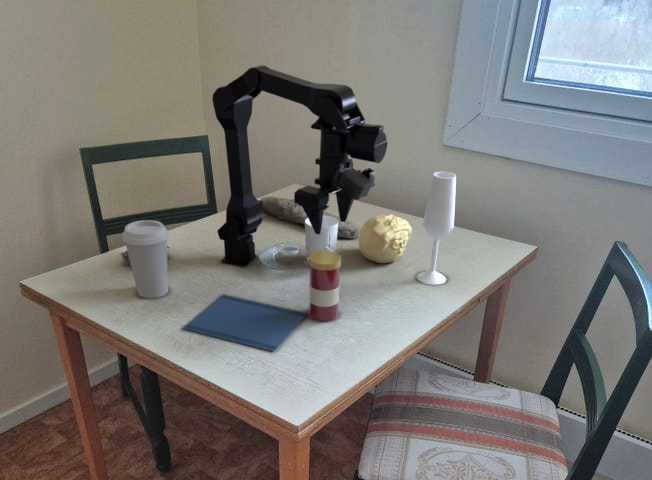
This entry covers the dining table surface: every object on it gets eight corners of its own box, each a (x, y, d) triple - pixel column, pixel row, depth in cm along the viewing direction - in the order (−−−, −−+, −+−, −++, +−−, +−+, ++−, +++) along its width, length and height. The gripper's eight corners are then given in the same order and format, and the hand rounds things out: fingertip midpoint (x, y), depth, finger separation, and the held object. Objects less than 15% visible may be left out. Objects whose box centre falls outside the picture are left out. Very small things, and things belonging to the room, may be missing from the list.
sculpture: (383, 272, 151) (387, 228, 145) (348, 256, 158) (350, 214, 152) (415, 259, 157) (420, 217, 151) (379, 244, 165) (383, 203, 159)
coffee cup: (182, 286, 144) (176, 222, 136) (161, 304, 136) (152, 238, 128) (145, 279, 146) (136, 216, 138) (122, 297, 139) (111, 232, 131)
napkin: (183, 329, 128) (183, 327, 128) (223, 295, 140) (223, 294, 140) (273, 351, 121) (273, 350, 121) (307, 314, 133) (307, 313, 133)
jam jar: (303, 318, 132) (303, 260, 125) (315, 304, 137) (316, 248, 130) (332, 324, 130) (334, 266, 123) (343, 310, 135) (346, 254, 128)
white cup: (333, 268, 152) (335, 228, 147) (301, 265, 153) (301, 225, 148) (339, 255, 159) (340, 216, 153) (307, 252, 160) (308, 214, 154)
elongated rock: (345, 249, 165) (368, 240, 172) (347, 229, 162) (371, 221, 169) (250, 209, 183) (274, 202, 190) (250, 191, 180) (275, 185, 187)
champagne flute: (440, 287, 145) (455, 181, 131) (412, 280, 147) (424, 176, 134) (450, 275, 149) (465, 173, 136) (422, 269, 152) (435, 168, 139)
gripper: (339, 173, 119) (335, 251, 127) (392, 152, 131) (385, 224, 140) (292, 161, 124) (292, 236, 133) (348, 142, 137) (343, 212, 145)
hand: (330, 227), depth 137 cm, fingers open, 9 cm apart
